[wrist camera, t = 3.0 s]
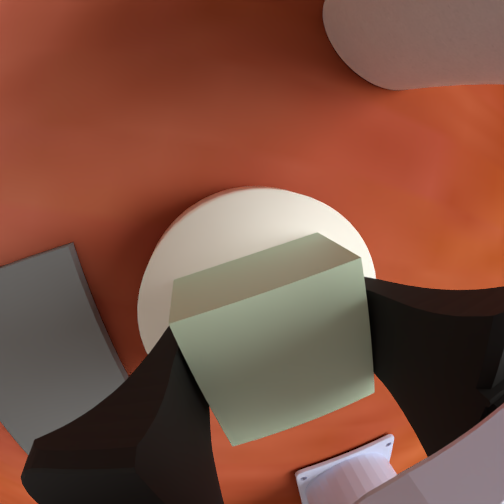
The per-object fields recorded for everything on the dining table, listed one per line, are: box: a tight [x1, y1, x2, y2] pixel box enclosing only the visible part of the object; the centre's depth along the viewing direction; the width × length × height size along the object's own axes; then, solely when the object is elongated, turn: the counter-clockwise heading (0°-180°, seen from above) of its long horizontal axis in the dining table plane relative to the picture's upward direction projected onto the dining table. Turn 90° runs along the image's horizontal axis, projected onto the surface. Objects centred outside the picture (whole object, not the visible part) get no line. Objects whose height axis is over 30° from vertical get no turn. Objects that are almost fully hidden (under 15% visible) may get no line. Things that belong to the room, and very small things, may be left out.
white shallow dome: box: [137, 186, 376, 354], centre depth 12 cm, size 9×9×3 cm
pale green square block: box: [169, 232, 374, 446], centre depth 10 cm, size 5×5×3 cm
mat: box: [0, 242, 128, 455], centre depth 13 cm, size 16×11×1 cm
